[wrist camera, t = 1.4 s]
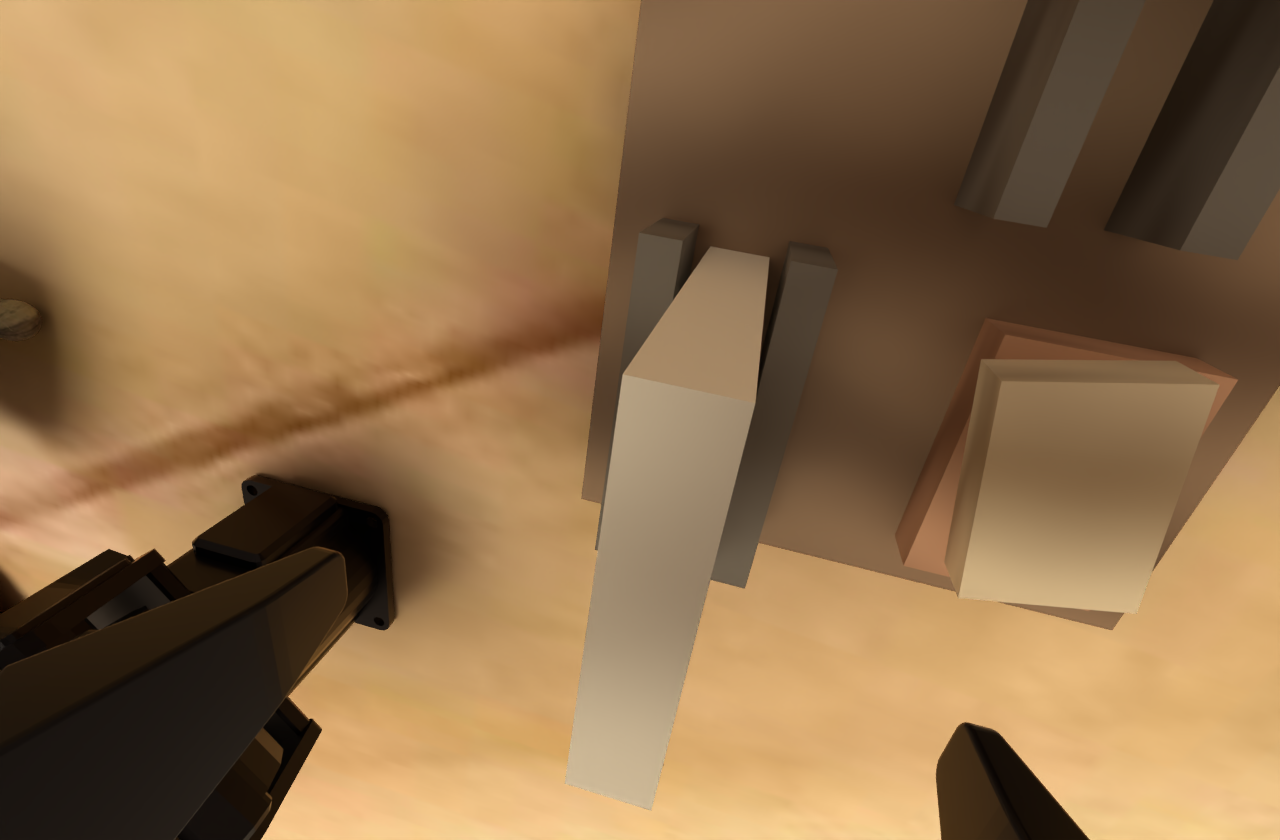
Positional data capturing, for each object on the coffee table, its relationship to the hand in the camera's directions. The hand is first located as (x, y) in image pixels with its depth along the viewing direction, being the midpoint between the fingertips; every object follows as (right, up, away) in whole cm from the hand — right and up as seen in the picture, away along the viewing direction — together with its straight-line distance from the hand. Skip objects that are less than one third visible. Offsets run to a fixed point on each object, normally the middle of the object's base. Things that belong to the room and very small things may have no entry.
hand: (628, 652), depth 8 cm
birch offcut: (+10, +2, +7) cm, 13 cm away
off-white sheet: (+2, +4, +9) cm, 10 cm away
